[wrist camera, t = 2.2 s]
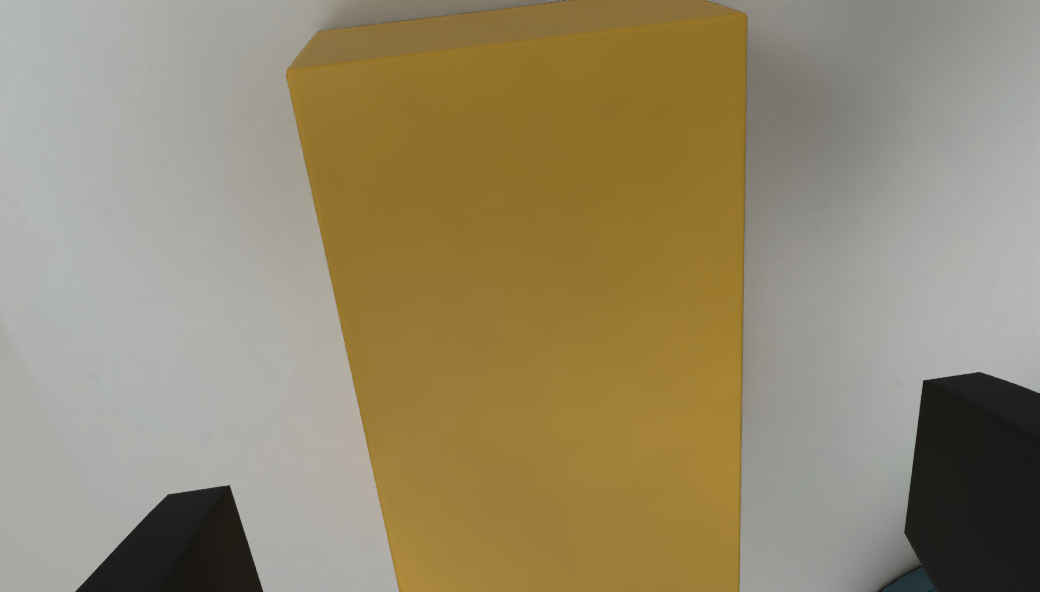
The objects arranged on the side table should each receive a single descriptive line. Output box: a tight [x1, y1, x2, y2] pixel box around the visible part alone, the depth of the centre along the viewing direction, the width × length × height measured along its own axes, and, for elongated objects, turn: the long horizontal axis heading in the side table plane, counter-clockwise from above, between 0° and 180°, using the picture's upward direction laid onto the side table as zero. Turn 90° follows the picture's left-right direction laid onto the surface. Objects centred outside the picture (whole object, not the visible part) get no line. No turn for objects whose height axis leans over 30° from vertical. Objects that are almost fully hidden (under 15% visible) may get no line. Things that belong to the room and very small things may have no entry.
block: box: [286, 0, 747, 592], centre depth 12 cm, size 9×5×3 cm, turn 6°
